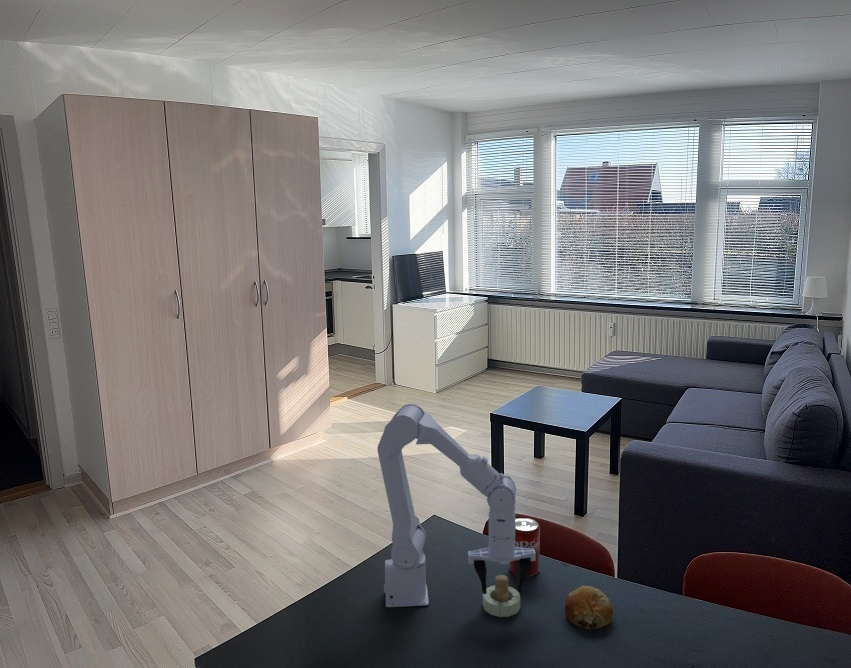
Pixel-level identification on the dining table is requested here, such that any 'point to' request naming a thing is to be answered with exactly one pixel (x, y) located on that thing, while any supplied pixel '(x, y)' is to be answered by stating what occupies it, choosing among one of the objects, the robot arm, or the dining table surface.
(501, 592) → the dowel
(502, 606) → the sage green bowl
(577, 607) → the bread roll
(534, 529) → the soda can
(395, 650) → the dining table surface
